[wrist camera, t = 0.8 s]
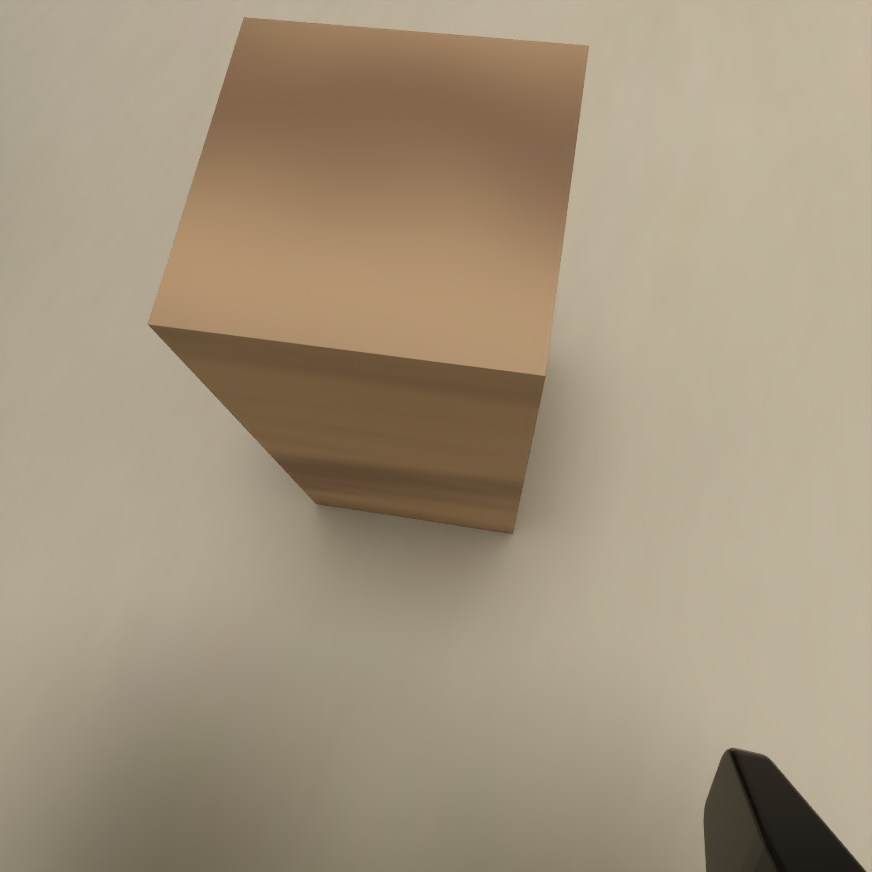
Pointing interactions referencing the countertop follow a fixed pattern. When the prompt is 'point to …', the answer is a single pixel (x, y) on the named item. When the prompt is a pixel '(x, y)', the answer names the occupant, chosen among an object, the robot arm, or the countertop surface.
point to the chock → (381, 259)
